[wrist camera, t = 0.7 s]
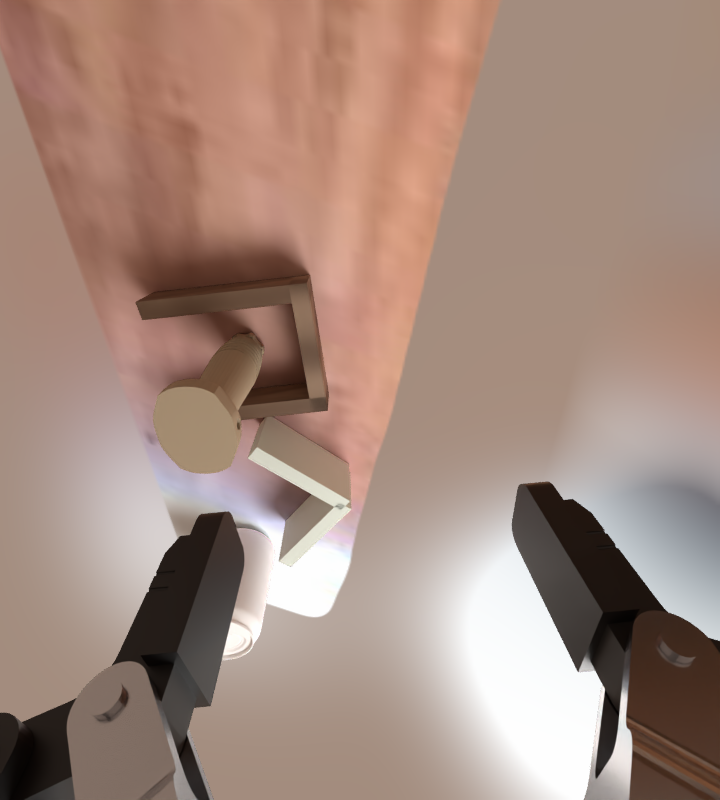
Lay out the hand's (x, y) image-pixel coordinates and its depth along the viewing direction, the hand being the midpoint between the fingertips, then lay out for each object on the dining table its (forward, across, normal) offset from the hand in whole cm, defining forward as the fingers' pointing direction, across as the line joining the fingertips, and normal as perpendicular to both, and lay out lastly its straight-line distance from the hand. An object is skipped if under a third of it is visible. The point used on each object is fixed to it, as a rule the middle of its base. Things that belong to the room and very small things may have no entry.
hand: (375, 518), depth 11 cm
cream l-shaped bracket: (+27, +7, +21) cm, 35 cm away
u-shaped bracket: (+27, +10, +5) cm, 30 cm away
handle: (+28, +10, +5) cm, 30 cm away
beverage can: (+27, +17, +32) cm, 45 cm away
